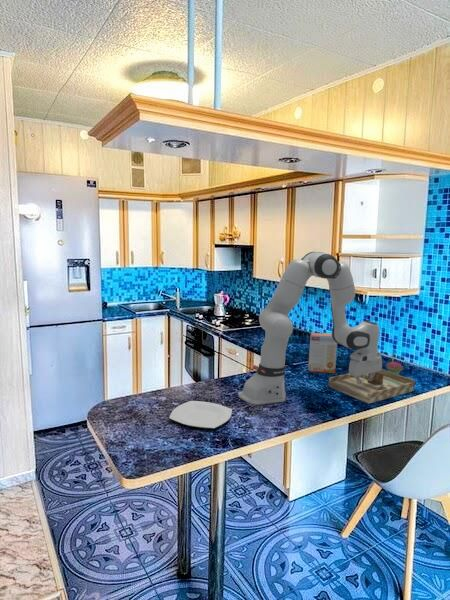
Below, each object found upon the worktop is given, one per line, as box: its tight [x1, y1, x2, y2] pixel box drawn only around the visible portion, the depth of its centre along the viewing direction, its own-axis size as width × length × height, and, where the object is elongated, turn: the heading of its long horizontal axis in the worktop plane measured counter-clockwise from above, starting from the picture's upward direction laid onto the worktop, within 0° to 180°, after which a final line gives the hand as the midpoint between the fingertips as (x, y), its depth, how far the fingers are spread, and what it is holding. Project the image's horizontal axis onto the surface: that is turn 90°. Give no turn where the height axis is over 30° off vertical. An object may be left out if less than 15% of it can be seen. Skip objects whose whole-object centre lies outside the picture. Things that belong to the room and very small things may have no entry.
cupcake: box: [385, 353, 404, 375], centre depth 229 cm, size 9×8×12 cm
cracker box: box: [307, 332, 338, 374], centre depth 229 cm, size 14×6×21 cm, turn 84°
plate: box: [168, 400, 233, 430], centre depth 166 cm, size 23×23×2 cm
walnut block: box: [368, 372, 384, 385], centre depth 207 cm, size 5×5×5 cm
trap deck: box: [327, 368, 416, 405], centre depth 206 cm, size 34×24×6 cm
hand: (364, 382), depth 203 cm, fingers open, 7 cm apart
